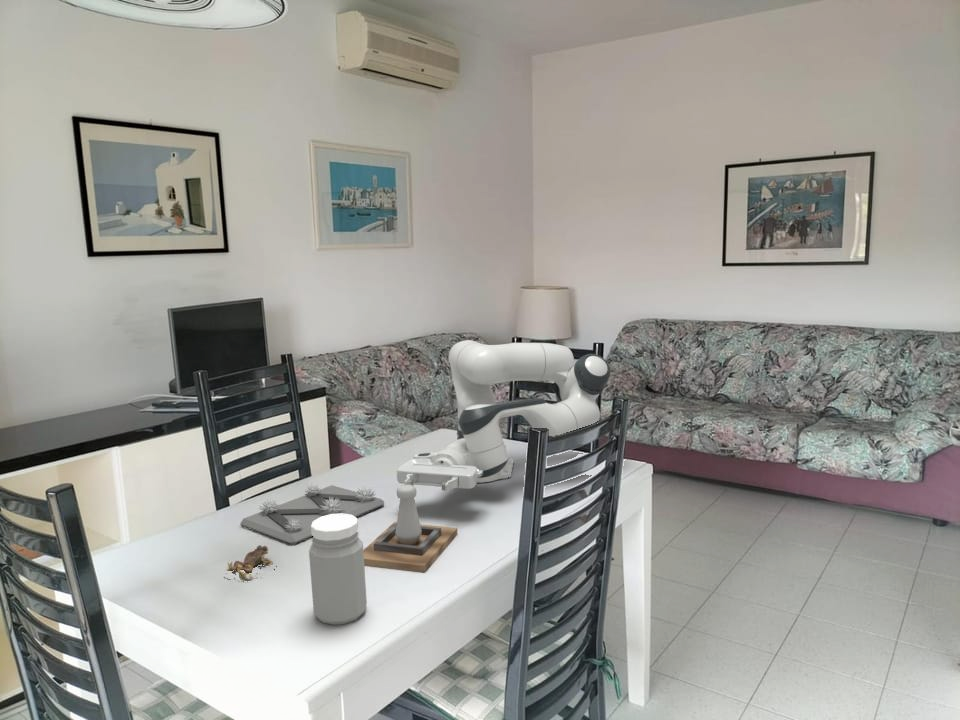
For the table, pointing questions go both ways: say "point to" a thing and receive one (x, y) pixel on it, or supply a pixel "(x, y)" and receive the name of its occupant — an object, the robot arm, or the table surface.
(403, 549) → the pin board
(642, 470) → the table surface
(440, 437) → the table surface
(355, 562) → the jar
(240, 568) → the frog figurine
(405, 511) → the salt shaker
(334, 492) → the decorative plate
